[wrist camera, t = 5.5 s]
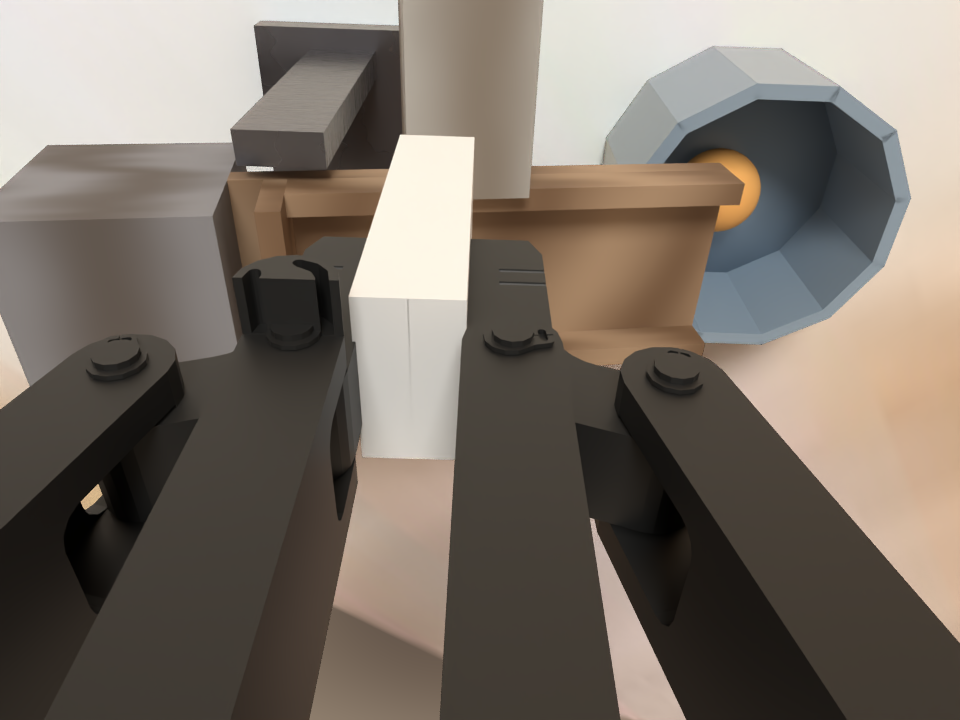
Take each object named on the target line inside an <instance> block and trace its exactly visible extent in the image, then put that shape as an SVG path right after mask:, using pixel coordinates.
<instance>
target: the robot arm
mask: <svg viewBox="0 0 960 720" xmlns="http://www.w3.org/2000/svg"><path fill="white" fill-rule="evenodd" d="M473 174H474V137H456V136H425V135H400V137H399V140H398V143H397V146H396V149H395V153H394V156H393V159H392V162H391V165H390V168H389V171H388V174H387V178H386V181H385V184H384V187H383V190H382V193H381V196H380V200H379V203H378V206H377V209H376V212H375V215H374V218H373V221H372V225H371V228H370V231H369V234H368V237H367V238H356V237H322V238H321V239H319V240H318V241H317V242H315V243H314V244H312V245H311V246H309V247H308V248H307V249H305V251H304V253H303V255H302V256H301V255H287V256H275V257H271V258H266V259H262V260H258V261H255V262H253V263H251V264H249V265H247V266H245V267H243V268H241V269H240V270H239V271H238V272H237V273H236V274H235V275H234V276H233V277H232V280H233V286H234V291H235V296H236V302H237V307H238V312H239V318H240V323H241V328H242V335H241V337H240V339H239V341H238V343H237V345H236V347H235V349H234V351H233V352H231V353H228V354H223V355H219V356H214V357H209V358H203V359H196V360H190V361H184V362H178V358H177V354H176V350H175V348H174V347H173V346H172V345H171V344H170V343H169V342H168V341H167V340H165V339H162V338H159V337H156V336H153V335H142V334H122V335H121V336H119V335H116V336H111V337H107V338H105V339H103V340H100V341H97V342H94V343H91V344H89V345H87V346H85V347H83V348H82V349H80V350H78V351H77V352H75V353H73V354H72V355H70V356H69V357H68V358H66V359H65V360H64V361H63V362H61V363H60V364H59V365H57V366H56V367H55V368H53V369H52V370H51V371H50V372H48V373H47V374H46V375H44V376H43V377H42V378H41V379H39V380H38V381H37V382H35V383H34V384H33V385H31V386H30V387H29V388H28V389H26V390H25V391H24V392H22V393H21V394H20V395H19V396H17V397H16V398H15V399H13V400H12V401H11V402H10V403H8V404H7V405H6V406H4V407H3V408H2V409H0V720H309V718H310V713H311V708H312V703H313V698H314V693H315V688H316V684H317V679H318V674H319V669H320V664H321V659H322V654H323V649H324V645H325V640H326V635H327V630H328V625H329V620H330V615H331V610H332V606H333V601H334V596H335V591H336V586H337V581H338V576H339V571H340V566H341V562H342V557H343V552H344V547H345V542H346V537H347V532H348V527H349V522H350V518H351V513H352V508H353V503H354V498H355V493H356V488H357V483H358V481H357V469H356V458H355V455H356V451H357V446H358V442H359V437H360V438H361V450H362V457H368V458H404V459H439V460H455V465H454V483H453V500H452V517H451V534H450V552H449V569H448V586H447V603H446V620H445V638H444V655H443V672H442V689H441V708H440V720H620V714H619V707H618V701H617V694H616V688H615V681H614V675H613V668H612V661H611V655H610V648H609V642H608V635H607V629H606V622H605V616H604V609H603V603H602V596H601V589H600V583H599V576H598V570H597V563H596V557H595V550H594V544H593V537H592V531H591V524H590V518H593V519H595V524H596V528H597V533H598V535H599V537H600V539H601V541H602V543H603V545H604V547H605V549H606V551H607V554H608V556H609V558H610V560H611V562H612V564H613V566H614V568H615V570H616V573H617V575H618V577H619V579H620V581H621V583H622V585H623V587H624V589H625V591H626V594H627V596H628V598H629V600H630V602H631V604H632V606H633V608H634V610H635V613H636V615H637V617H638V619H639V621H640V623H641V625H642V627H643V629H644V631H645V634H646V636H647V638H648V640H649V642H650V644H651V646H652V648H653V650H654V653H655V655H656V657H657V659H658V661H659V663H660V665H661V667H662V669H663V671H664V674H665V676H666V678H667V680H668V682H669V684H670V686H671V688H672V690H673V693H674V695H675V697H676V699H677V701H678V703H679V705H680V707H681V709H682V711H683V714H684V716H685V718H686V720H960V643H959V642H958V641H957V640H956V638H955V637H954V636H953V635H952V634H951V633H950V631H949V630H948V629H947V628H946V627H945V626H944V625H943V623H942V622H941V621H940V620H939V619H938V618H937V616H936V615H935V614H934V613H933V612H932V611H931V610H930V608H929V607H928V606H927V605H926V604H925V603H924V601H923V600H922V599H921V598H920V597H919V596H918V595H917V593H916V592H915V591H914V590H913V589H912V588H911V586H910V585H909V584H908V583H907V582H906V581H905V580H904V578H903V577H902V576H901V575H900V574H899V573H898V572H897V570H896V569H895V568H894V567H893V566H892V565H891V563H890V562H889V561H888V560H887V559H886V558H885V557H884V555H883V554H882V553H881V552H880V551H879V550H878V548H877V547H876V546H875V545H874V544H873V543H872V542H871V540H870V539H869V538H868V537H867V536H866V535H865V533H864V532H863V531H862V530H861V529H860V528H859V527H858V525H857V524H856V523H855V522H854V521H853V520H852V519H851V517H850V516H849V515H848V514H847V513H846V512H845V510H844V509H843V508H842V507H841V506H840V505H839V504H838V502H837V501H836V500H835V499H834V498H833V497H832V495H831V494H830V493H829V492H828V491H827V490H826V489H825V487H824V486H823V485H822V484H821V483H820V482H819V480H818V479H817V478H816V477H815V476H814V475H813V474H812V472H811V471H810V470H809V469H808V468H807V467H806V465H805V464H804V463H803V462H802V461H801V460H800V459H799V457H798V456H797V455H796V454H795V453H794V452H793V451H792V449H791V448H790V447H789V446H788V445H787V444H786V442H785V441H784V440H783V439H782V438H781V437H780V436H779V434H778V433H777V432H776V431H775V430H774V429H773V427H772V426H771V425H770V424H769V423H768V422H767V421H766V419H765V418H764V417H763V416H762V415H761V414H760V412H759V411H758V410H757V409H756V408H755V407H754V406H753V404H752V403H751V402H750V401H749V400H748V399H747V398H746V396H745V395H744V394H743V393H742V392H741V391H740V389H739V388H738V387H737V386H736V385H735V384H734V383H733V381H732V380H731V379H730V378H729V377H728V376H727V374H726V373H725V372H724V371H723V370H722V369H721V368H719V367H718V366H717V365H716V364H714V363H713V362H712V361H711V360H709V359H707V358H705V357H703V356H700V355H698V354H696V353H694V352H691V351H688V350H684V349H679V348H673V347H650V348H646V349H642V350H638V351H635V352H634V353H632V354H631V355H630V356H628V357H627V358H625V359H624V361H623V364H622V367H621V369H620V370H615V369H611V368H607V367H602V366H598V365H595V364H592V363H588V362H585V361H583V360H581V359H579V358H577V357H575V356H572V355H571V354H570V353H568V352H567V351H566V350H564V347H563V342H562V340H561V338H560V336H559V334H558V332H557V331H556V330H554V329H553V328H552V322H551V315H550V308H549V301H548V294H547V287H546V279H545V273H544V265H543V258H542V254H541V253H540V252H539V251H538V250H537V249H536V248H535V247H534V246H533V245H532V244H531V243H530V242H529V241H522V240H490V239H472V213H473ZM97 484H99V487H100V489H101V492H102V496H101V497H100V498H99V499H98V500H97V501H96V502H95V503H94V504H93V505H92V506H90V507H89V508H88V509H86V510H85V509H84V508H83V507H82V504H81V501H82V500H83V499H84V498H85V496H86V495H87V494H88V493H89V492H90V491H91V490H92V489H93V488H94V487H95V486H96V485H97Z"/></svg>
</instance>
